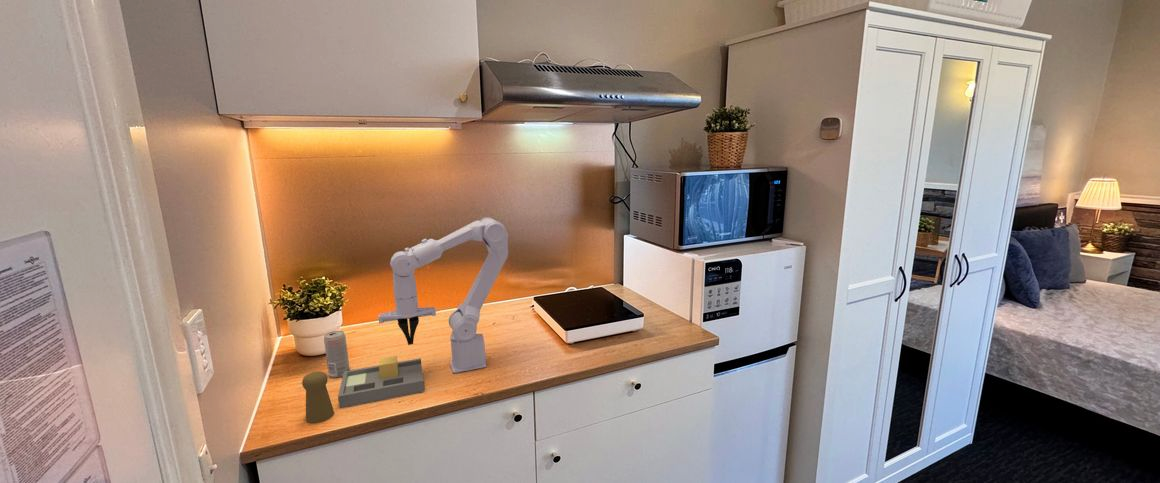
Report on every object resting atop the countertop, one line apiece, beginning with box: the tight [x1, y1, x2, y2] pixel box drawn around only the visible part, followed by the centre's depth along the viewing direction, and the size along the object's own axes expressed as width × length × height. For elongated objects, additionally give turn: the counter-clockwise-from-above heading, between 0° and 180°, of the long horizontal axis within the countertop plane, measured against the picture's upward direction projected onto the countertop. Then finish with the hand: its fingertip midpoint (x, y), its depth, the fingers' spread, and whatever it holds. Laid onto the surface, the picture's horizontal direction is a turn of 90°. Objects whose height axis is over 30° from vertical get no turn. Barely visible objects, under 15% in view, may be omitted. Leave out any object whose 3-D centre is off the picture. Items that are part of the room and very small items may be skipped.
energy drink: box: [323, 330, 351, 379], centre depth 131 cm, size 5×5×12 cm
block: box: [378, 355, 398, 379], centre depth 127 cm, size 4×4×4 cm
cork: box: [301, 370, 335, 425], centre depth 111 cm, size 6×6×11 cm
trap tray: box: [337, 357, 425, 409], centre depth 125 cm, size 20×14×3 cm
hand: (410, 343), depth 128 cm, fingers closed
